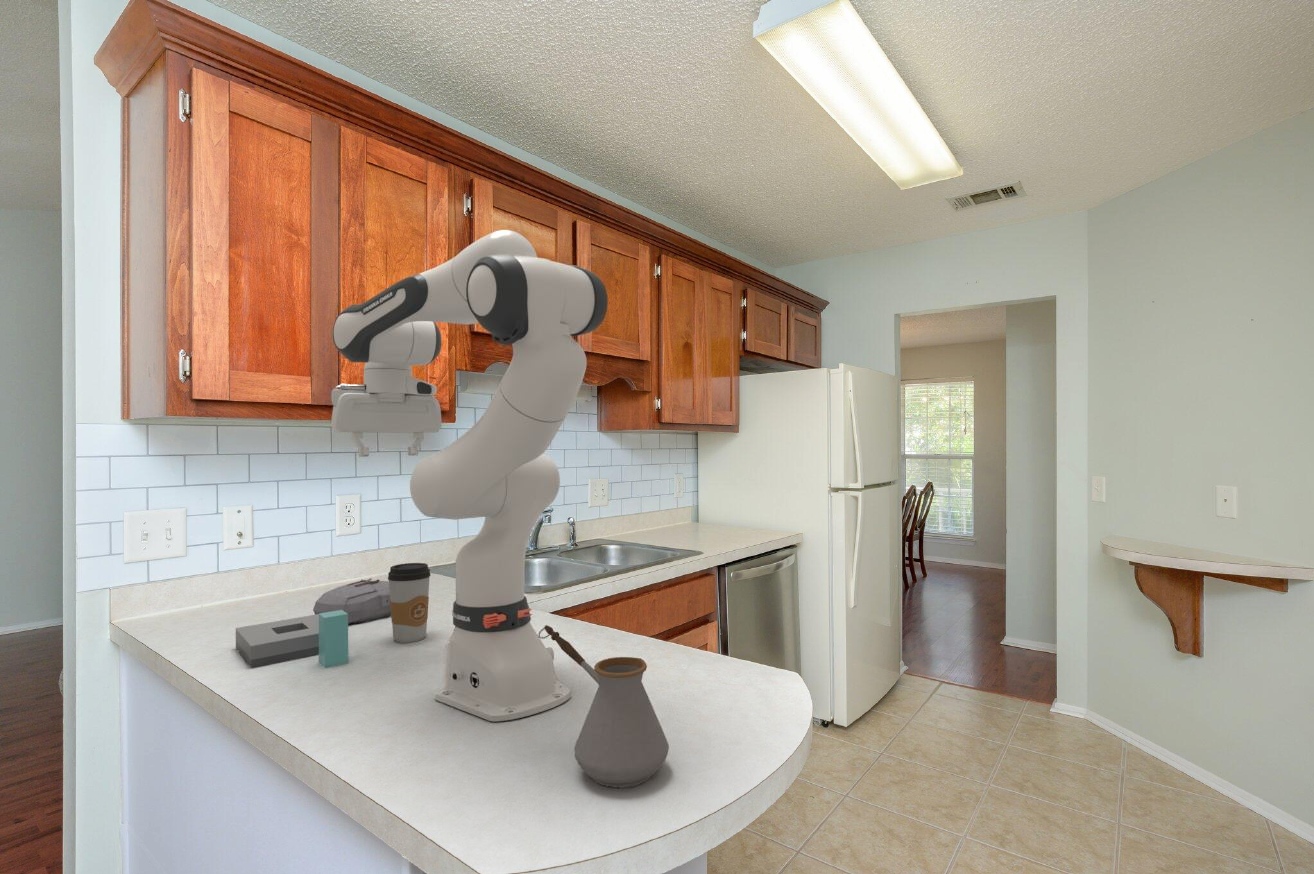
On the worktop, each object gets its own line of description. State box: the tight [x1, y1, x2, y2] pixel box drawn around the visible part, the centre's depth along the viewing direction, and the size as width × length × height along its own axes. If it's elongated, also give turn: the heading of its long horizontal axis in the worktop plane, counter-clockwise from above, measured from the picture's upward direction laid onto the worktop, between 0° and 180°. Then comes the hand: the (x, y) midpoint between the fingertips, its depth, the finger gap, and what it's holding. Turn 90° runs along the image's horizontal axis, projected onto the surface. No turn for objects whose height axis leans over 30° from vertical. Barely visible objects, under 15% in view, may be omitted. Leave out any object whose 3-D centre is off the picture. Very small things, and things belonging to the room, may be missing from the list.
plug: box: [318, 610, 349, 669], centre depth 120 cm, size 4×4×9 cm
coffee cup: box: [387, 562, 431, 644], centre depth 134 cm, size 8×8×15 cm
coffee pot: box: [538, 624, 670, 789], centre depth 82 cm, size 21×12×15 cm, turn 46°
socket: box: [235, 614, 319, 669], centre depth 128 cm, size 16×16×4 cm
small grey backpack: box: [312, 578, 391, 625], centre depth 152 cm, size 15×8×20 cm
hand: (388, 456), depth 127 cm, fingers open, 8 cm apart
